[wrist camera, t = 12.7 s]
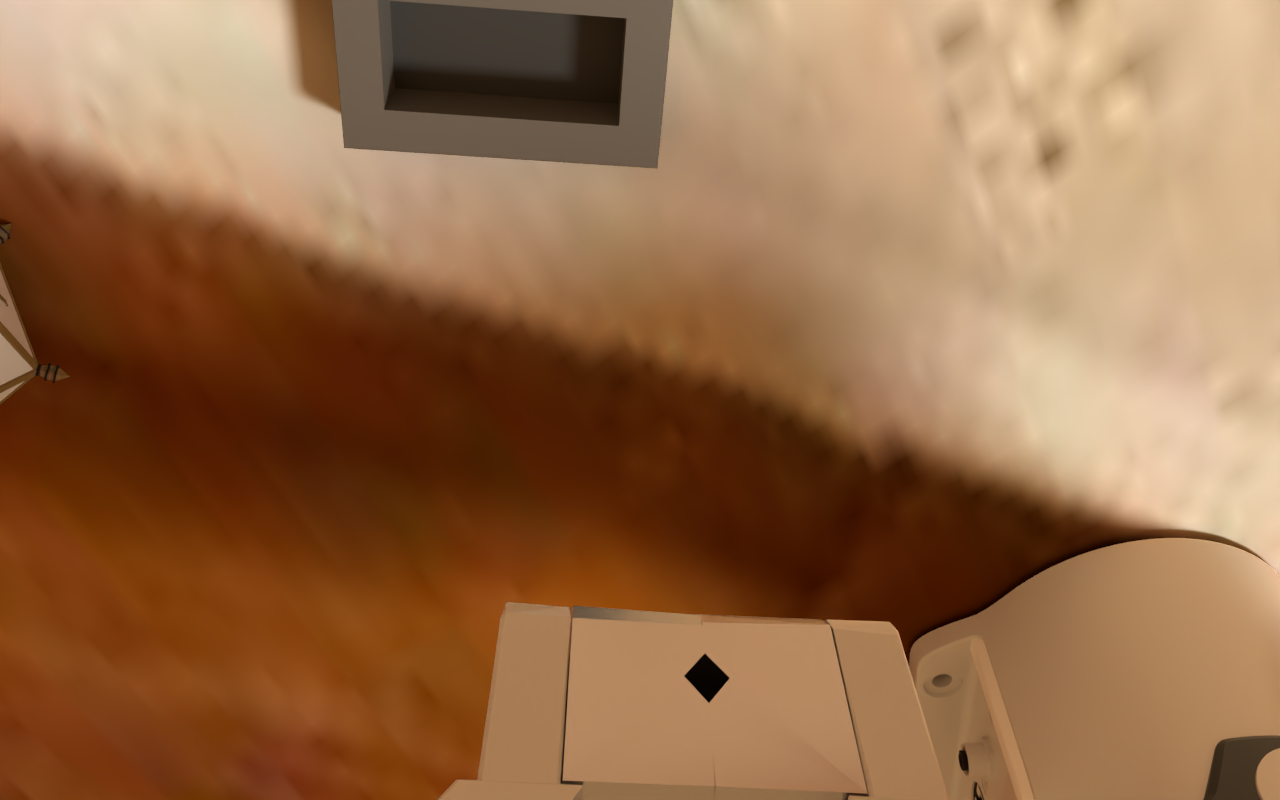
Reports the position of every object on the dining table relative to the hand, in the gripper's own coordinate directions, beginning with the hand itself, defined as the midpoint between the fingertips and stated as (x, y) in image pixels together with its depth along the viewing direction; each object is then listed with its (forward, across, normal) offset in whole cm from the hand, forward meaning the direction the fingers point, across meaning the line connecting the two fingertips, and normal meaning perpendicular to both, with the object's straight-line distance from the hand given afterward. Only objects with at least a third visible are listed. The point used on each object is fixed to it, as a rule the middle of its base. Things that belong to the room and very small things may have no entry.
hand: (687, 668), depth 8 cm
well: (+26, -4, -2) cm, 26 cm away
